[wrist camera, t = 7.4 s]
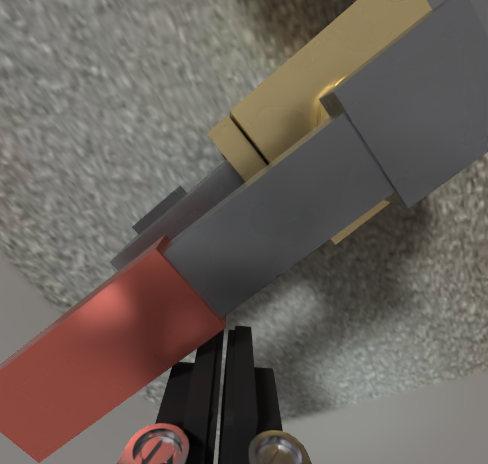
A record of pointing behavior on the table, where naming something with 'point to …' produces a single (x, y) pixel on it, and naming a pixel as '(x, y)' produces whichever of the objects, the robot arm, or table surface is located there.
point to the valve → (285, 113)
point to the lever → (260, 229)
